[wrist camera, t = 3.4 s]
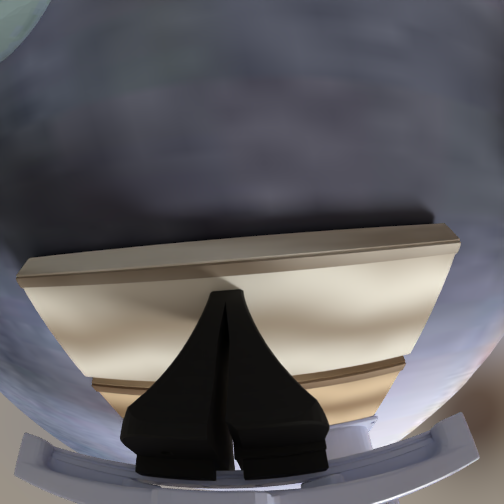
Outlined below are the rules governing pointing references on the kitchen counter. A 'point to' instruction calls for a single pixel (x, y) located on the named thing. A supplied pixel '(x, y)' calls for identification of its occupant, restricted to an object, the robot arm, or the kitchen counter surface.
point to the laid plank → (317, 384)
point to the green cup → (18, 22)
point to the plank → (246, 296)
